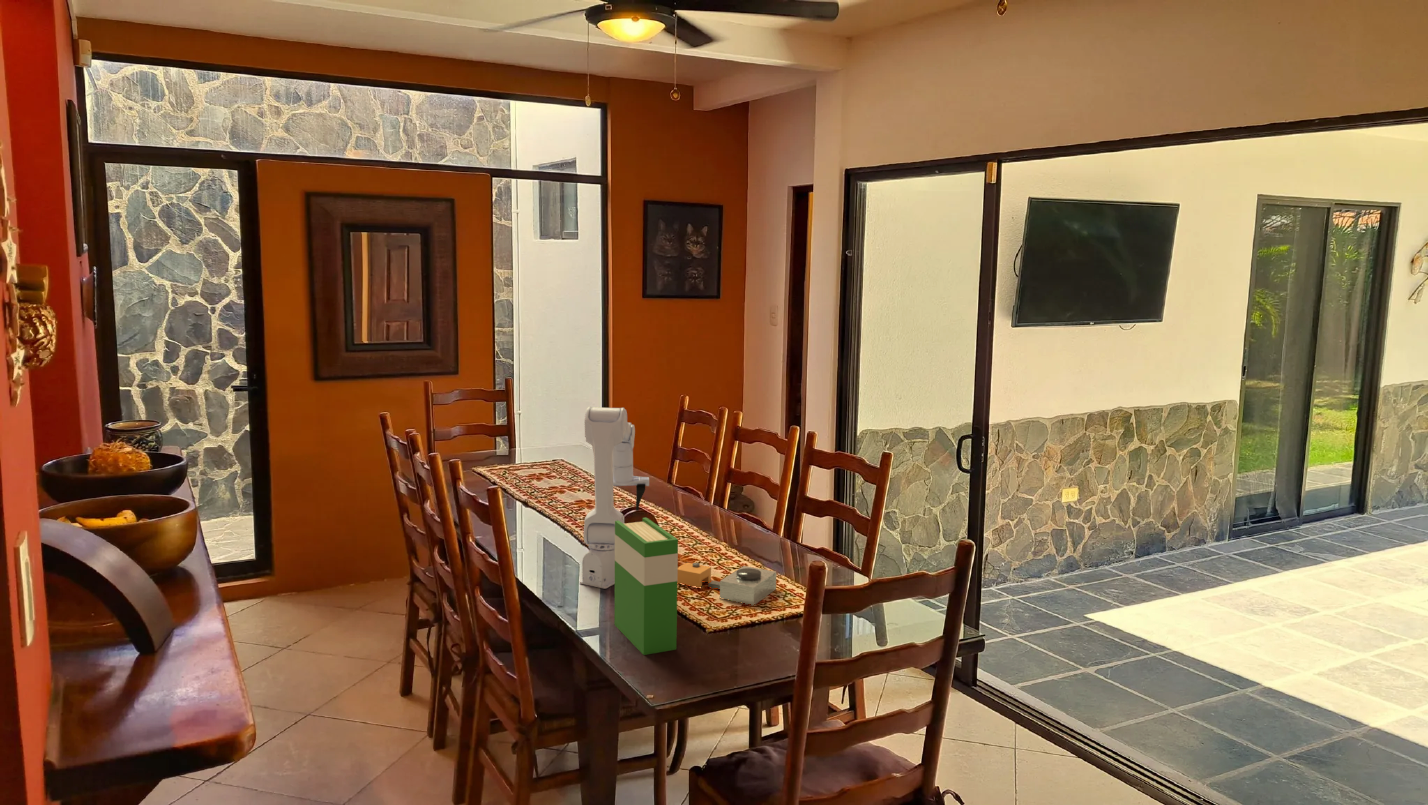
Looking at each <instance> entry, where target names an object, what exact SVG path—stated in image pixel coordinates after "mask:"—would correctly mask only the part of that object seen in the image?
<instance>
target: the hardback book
mask: <svg viewBox="0 0 1428 805" xmlns="http://www.w3.org/2000/svg"><path fill="white" fill-rule="evenodd" d="M624 523H625V522H624ZM678 564H679V539H678V538H677V537H676V536H674V535H673V534H671V533H669V531H667V530H665V529H664V528H662V527H661V526H659V525H658V524H657V523H655V522H654V521H653V520H651V519H650V518H648V517H642V521H635V522H628V523H625V524H623V523H622V522H620V521H619V520H618V521H615V584H614V614H613V615H614V620H613V621H614V626H615V627H616V628H617V629H618V630H619V631H620V632H621V633H622V634H623V635H624V636H625V638H627V640H629V641H630V643H631V644H632V645H633V646H634V647H635V648H636V649H637V650H638V651H639V652H640V653H641V654H642V655H643V656H646V655H652V654H659V653H663V652H668V651H669V652H670V651H675V650H677V633H678V630H677V629H678V627H677V626H678V584H677V576H678V567H679V566H678Z"/></svg>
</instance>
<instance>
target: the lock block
mask: <svg viewBox="0 0 1428 805" xmlns="http://www.w3.org/2000/svg"><path fill="white" fill-rule="evenodd" d="M702 581H705V582H710V581H712V566H707V565H702V564H700V563H699V562H693V563H692V562H685V563H682V564H681V565H680V566H678V576H677V583H684V584H687V585H690V586H696V587H701V586H702V585H703V582H702ZM705 582H704V583H705Z"/></svg>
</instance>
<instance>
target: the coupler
mask: <svg viewBox="0 0 1428 805" xmlns="http://www.w3.org/2000/svg"><path fill="white" fill-rule="evenodd" d="M707 586H708V587H711V588H710V589H713V588H718V589H720V590H719V598H720V597H721V598H724V599H729V600H732V601H731V602H733V601H736V602H735V603H738V602H742V603H741V604H743V603H745V604H744V605H748V604H751V605H750V606H753V605H754V604H755V605H756V604H758V603H759V602H760V601H762V600H763V599H764V598H766V597H768V595H770V594H771V593H773V592H774V591H775V590H776V589H777V571H775V570H768V569H763V568H757V567H751V566H747V565H743V566H741V567H739V568H738V569H736V570H735V571H733V572H732V573H730V574H729V575H727V576H725V577H724V578H722V579H720V581H717V580H713V579H711V582H709V583H707ZM718 589H717V590H718ZM724 599H723V600H724ZM729 600H728V601H729ZM755 605H754V606H755Z"/></svg>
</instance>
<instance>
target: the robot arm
mask: <svg viewBox="0 0 1428 805" xmlns="http://www.w3.org/2000/svg"><path fill="white" fill-rule="evenodd" d="M635 434H636V428H635V424H632V422H628V413H627V409H625V407H600V406H599V407H597V406H595V407H594V406H588V407H587V408H586V409H585V414H584V437H585V442H586V443H588V444H589V445H591V447H592V453H593V470H594V475H593V476H594V503H595V504H594V505H595V506H594V508H593V509H592V510H590V511H589V512H587V514H586V516H585V517H584V522H583V524H584V526H583V541H584V543H585V545H587V546H588V549H589V550H588V552H586V554H585V555H583V557H582V562H581V563H582V566H581V567H582V569H581V570H582V572H581V573H582V574H581V575H582V576H581V577H582V578H581V580H580V581H579V584H582V585H586V586H589V587H590V586H591V587H595V588H599V589H605V590H606V589H608V588H610V587H612V586H613V585H614V586H615V521H618V520H619V521H620V522H622V523H623V524H625V516H624V514H623V513H622V512H621V511H619V510H618V509H617V508H615V506H614V487H621V486H624V487H626V486H629V487H631V486H636V490H635V491H636V494H635V495H636V496H635V511H637V512H639V509H640V503H641V500H642V498H643V496H644V494H645V491H646V487H650V477H649V476H637V475H634V447H635V436H636V435H635Z"/></svg>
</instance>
